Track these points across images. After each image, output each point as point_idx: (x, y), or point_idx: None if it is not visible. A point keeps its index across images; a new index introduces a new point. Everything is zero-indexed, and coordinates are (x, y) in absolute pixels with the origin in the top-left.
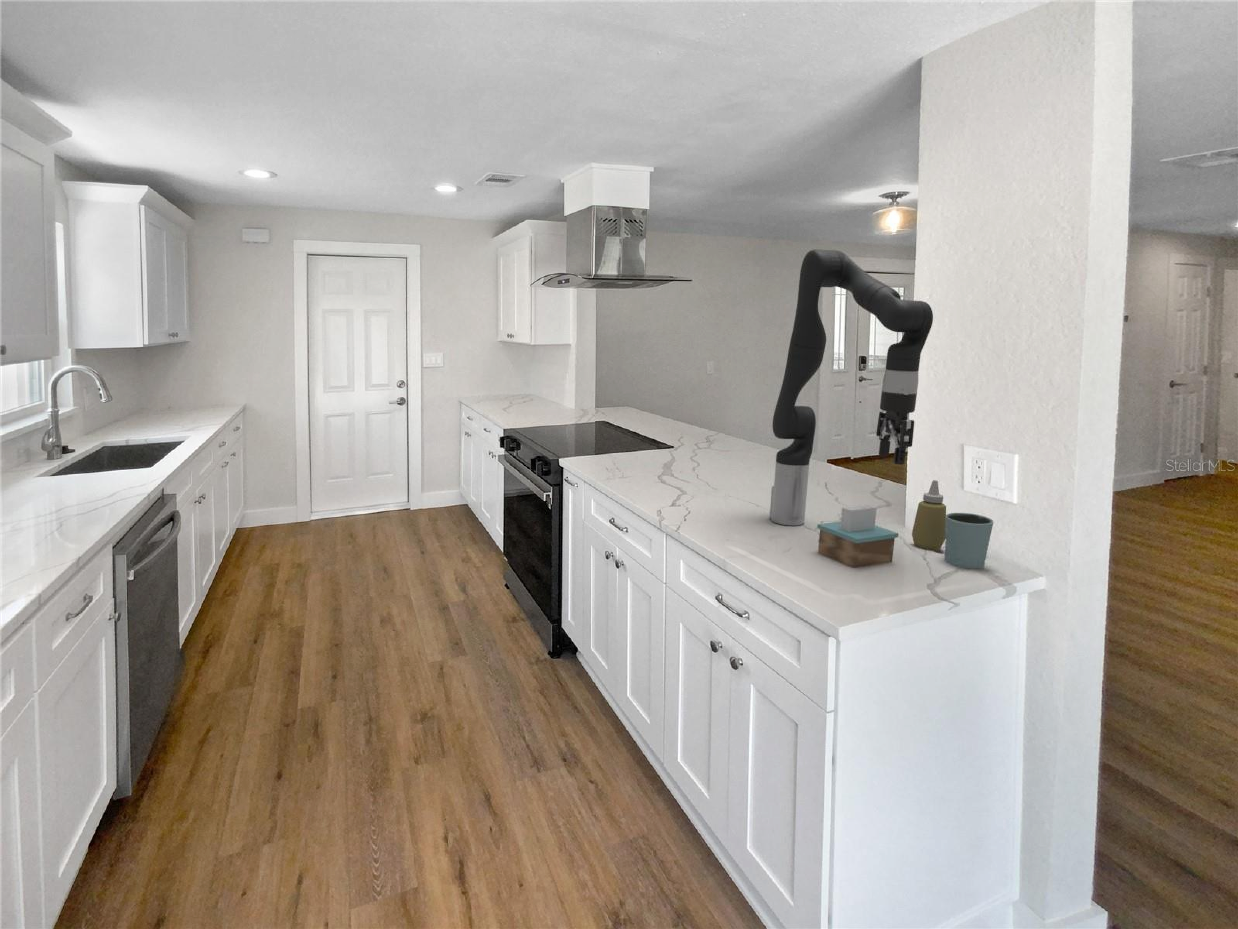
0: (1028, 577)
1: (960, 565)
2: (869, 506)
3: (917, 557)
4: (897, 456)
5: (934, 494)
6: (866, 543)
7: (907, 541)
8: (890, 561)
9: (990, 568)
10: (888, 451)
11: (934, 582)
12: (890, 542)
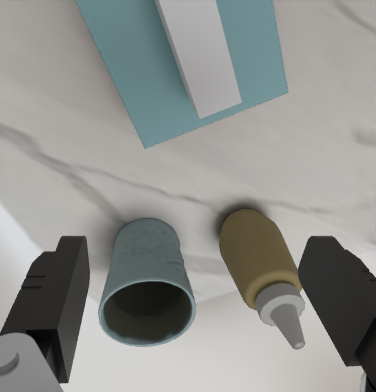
0: (99, 304)
1: (120, 234)
2: (217, 99)
3: (198, 190)
4: (43, 280)
5: (273, 312)
6: None
7: (292, 212)
8: None
9: None
10: (311, 296)
11: (44, 155)
12: None
